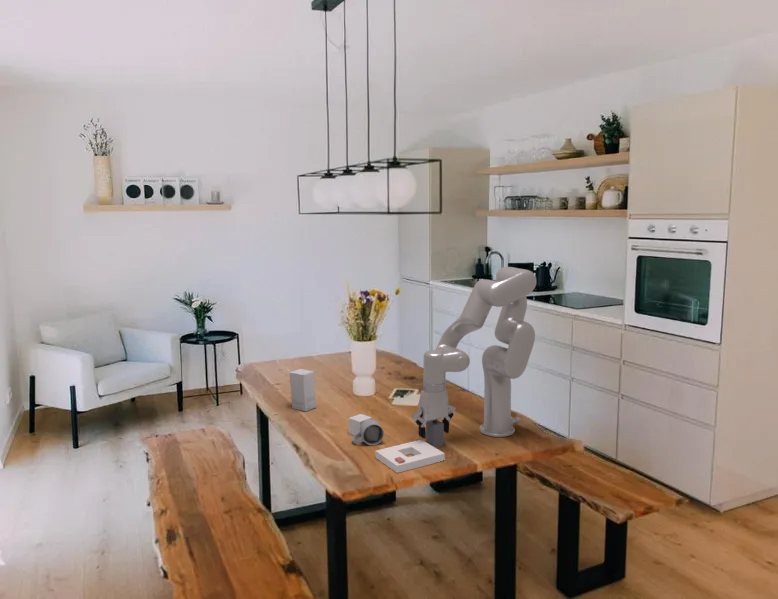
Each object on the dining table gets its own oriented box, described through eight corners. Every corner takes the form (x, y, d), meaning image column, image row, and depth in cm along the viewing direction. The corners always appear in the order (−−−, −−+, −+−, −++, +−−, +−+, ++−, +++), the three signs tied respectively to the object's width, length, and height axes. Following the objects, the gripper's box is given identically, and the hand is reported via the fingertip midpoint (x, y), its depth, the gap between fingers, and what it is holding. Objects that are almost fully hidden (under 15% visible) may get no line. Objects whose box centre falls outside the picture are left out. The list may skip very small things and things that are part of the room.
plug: (435, 440, 223) (435, 414, 222) (443, 445, 219) (443, 418, 218) (426, 443, 222) (425, 416, 220) (434, 447, 217) (434, 421, 216)
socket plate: (421, 446, 219) (421, 437, 218) (444, 460, 207) (444, 451, 206) (375, 457, 210) (375, 448, 209) (397, 473, 198) (397, 463, 197)
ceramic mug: (379, 435, 229) (378, 415, 227) (384, 444, 221) (383, 423, 220) (350, 439, 226) (349, 419, 225) (354, 448, 218) (353, 427, 217)
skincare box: (316, 408, 260) (315, 371, 257) (304, 412, 255) (303, 374, 252) (302, 404, 265) (301, 367, 262) (290, 408, 260) (289, 371, 257)
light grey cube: (372, 433, 232) (372, 417, 231) (360, 437, 227) (359, 421, 226) (361, 429, 236) (360, 413, 235) (349, 433, 232) (348, 417, 231)
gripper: (448, 380, 224) (448, 426, 227) (407, 387, 216) (406, 435, 219) (461, 385, 218) (460, 433, 221) (419, 393, 209) (418, 442, 212)
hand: (433, 434), depth 220 cm, fingers open, 9 cm apart
